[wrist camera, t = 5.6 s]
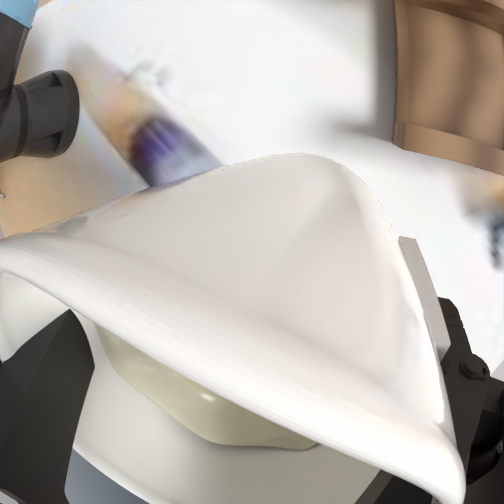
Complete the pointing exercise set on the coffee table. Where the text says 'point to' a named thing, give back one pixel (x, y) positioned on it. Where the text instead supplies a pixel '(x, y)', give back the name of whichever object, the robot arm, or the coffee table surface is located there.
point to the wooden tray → (450, 80)
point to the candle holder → (243, 338)
